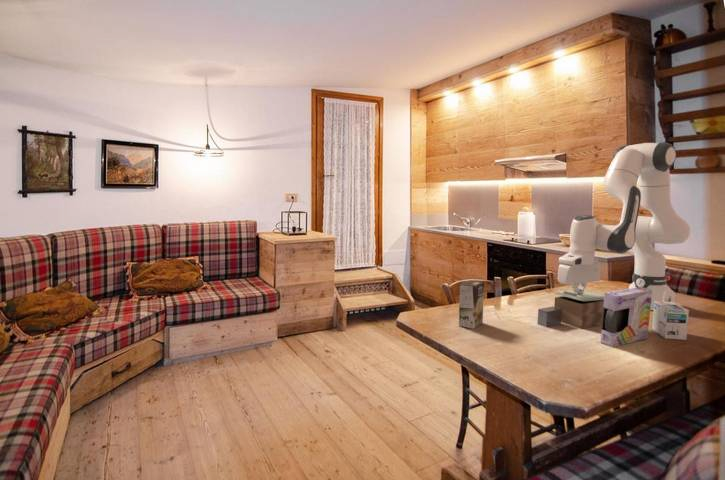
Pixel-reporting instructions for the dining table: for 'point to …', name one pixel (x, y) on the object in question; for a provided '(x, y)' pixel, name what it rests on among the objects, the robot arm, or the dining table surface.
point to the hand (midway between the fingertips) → (578, 294)
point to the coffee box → (471, 304)
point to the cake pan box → (625, 316)
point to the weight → (549, 316)
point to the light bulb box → (670, 320)
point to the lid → (581, 295)
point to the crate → (580, 311)
